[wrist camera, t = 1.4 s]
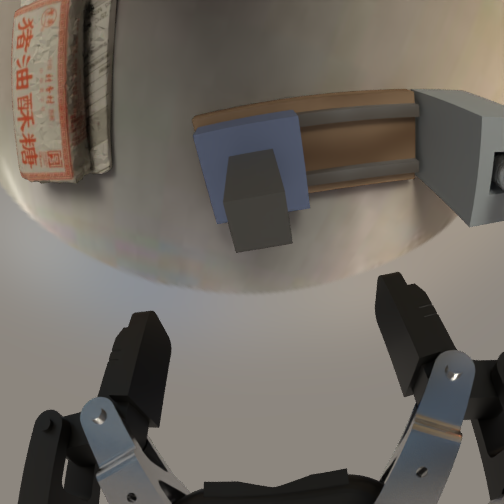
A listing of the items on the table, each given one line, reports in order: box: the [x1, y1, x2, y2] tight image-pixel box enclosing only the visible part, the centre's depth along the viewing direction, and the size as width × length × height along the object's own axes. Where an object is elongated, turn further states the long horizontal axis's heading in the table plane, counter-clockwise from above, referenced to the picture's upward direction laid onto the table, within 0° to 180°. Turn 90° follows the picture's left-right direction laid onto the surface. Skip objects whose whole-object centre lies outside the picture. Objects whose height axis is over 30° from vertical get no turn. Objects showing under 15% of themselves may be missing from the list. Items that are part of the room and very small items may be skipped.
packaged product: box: [11, 0, 117, 184], centre depth 19 cm, size 18×5×10 cm
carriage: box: [193, 110, 310, 253], centre depth 20 cm, size 7×7×9 cm
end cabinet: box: [411, 89, 504, 227], centre depth 20 cm, size 8×6×10 cm
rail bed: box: [192, 89, 419, 193], centre depth 24 cm, size 8×18×2 cm, turn 101°
